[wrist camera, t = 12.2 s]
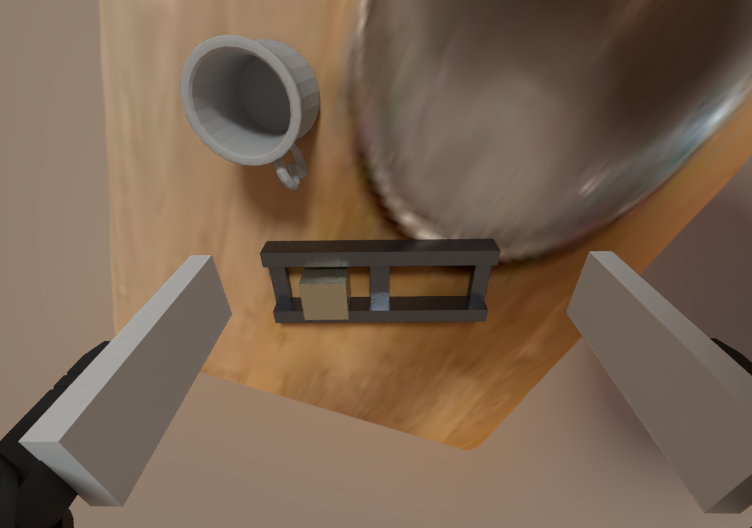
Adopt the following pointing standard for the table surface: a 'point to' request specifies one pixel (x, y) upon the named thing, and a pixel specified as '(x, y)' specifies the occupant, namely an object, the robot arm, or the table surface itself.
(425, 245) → the rail
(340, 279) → the brushed top tan cube
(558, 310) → the table surface
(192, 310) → the robot arm
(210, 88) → the mug
